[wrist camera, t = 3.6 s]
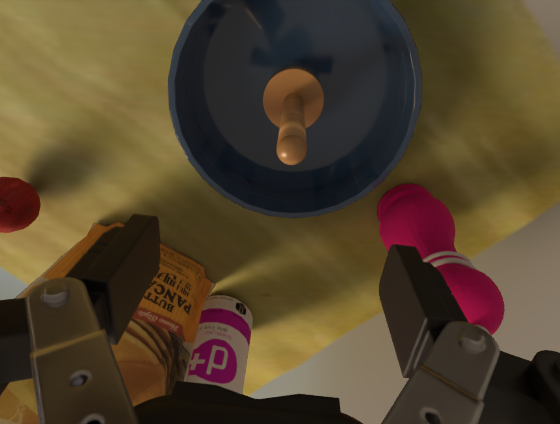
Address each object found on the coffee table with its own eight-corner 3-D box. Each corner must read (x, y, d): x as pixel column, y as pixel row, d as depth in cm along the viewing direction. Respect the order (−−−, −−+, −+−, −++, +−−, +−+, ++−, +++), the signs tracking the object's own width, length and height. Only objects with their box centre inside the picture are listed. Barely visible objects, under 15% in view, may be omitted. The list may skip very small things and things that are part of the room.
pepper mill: (372, 237, 44) (422, 387, 27) (372, 182, 41) (430, 310, 23) (435, 233, 44) (529, 382, 26) (440, 176, 40) (553, 303, 23)
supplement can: (199, 284, 49) (163, 386, 35) (260, 301, 49) (247, 406, 36) (188, 328, 52) (151, 434, 39) (245, 342, 53) (227, 451, 40)
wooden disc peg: (267, 62, 35) (245, 98, 20) (326, 68, 35) (350, 110, 20) (262, 121, 38) (239, 193, 22) (317, 127, 38) (332, 204, 22)
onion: (-3, 164, 42) (-64, 195, 35) (48, 168, 42) (-2, 200, 35) (11, 210, 44) (-43, 247, 37) (59, 214, 44) (14, 252, 37)
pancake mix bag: (208, 309, 50) (124, 592, 26) (73, 242, 46) (-184, 505, 22) (233, 277, 48) (164, 559, 23) (91, 202, 43) (-181, 451, 19)
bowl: (185, -47, 32) (162, -60, 26) (431, -18, 32) (457, -24, 27) (188, 181, 42) (172, 205, 36) (375, 202, 42) (387, 229, 37)
